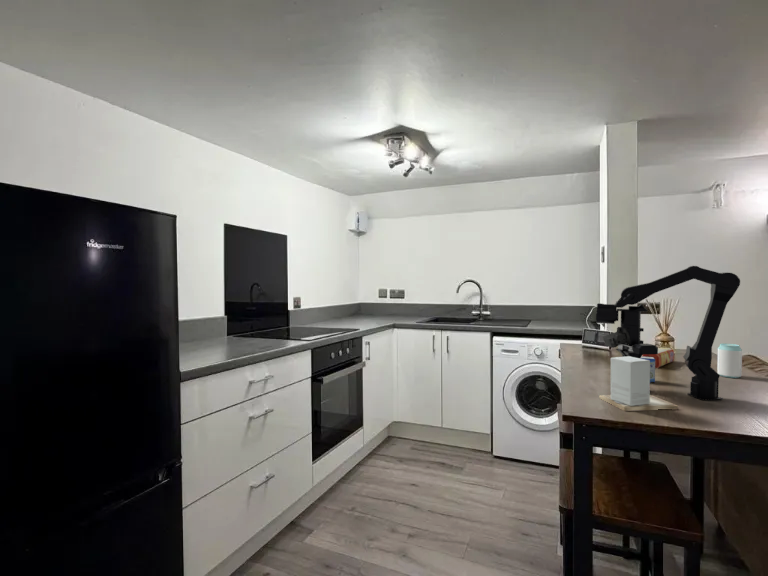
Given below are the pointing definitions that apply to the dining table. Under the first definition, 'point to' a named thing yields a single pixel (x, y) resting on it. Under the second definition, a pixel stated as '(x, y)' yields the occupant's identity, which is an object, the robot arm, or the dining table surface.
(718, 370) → the can
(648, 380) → the supplement box
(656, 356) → the snack package
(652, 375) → the medicine box
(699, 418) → the dining table surface
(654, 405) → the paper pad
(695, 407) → the dining table surface
